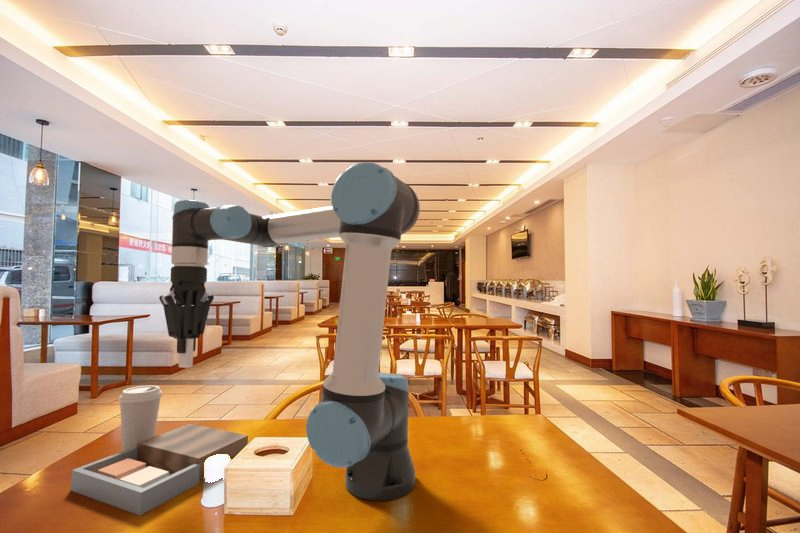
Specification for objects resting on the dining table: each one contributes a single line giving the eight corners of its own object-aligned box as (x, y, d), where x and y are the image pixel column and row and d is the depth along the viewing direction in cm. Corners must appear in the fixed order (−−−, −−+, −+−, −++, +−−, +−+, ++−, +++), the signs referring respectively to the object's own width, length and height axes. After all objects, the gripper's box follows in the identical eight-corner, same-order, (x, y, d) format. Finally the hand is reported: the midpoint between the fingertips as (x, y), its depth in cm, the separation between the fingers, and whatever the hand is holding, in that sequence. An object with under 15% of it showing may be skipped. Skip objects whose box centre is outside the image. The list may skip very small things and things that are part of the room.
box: (198, 483, 79) (199, 464, 79) (139, 515, 67) (141, 492, 68) (133, 464, 87) (134, 447, 87) (70, 490, 75) (72, 470, 76)
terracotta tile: (116, 475, 74) (114, 491, 74) (146, 463, 80) (145, 477, 80) (97, 470, 77) (96, 485, 77) (128, 458, 82) (127, 472, 82)
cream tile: (139, 485, 71) (138, 501, 71) (169, 471, 77) (168, 486, 76) (119, 479, 73) (118, 494, 73) (149, 466, 79) (148, 480, 79)
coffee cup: (136, 458, 90) (140, 395, 91) (104, 454, 92) (108, 392, 93) (168, 443, 99) (172, 385, 100) (138, 439, 101) (142, 383, 102)
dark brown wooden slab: (247, 456, 92) (248, 435, 92) (197, 482, 79) (198, 458, 79) (189, 442, 100) (190, 423, 100) (135, 464, 87) (136, 442, 87)
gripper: (201, 268, 96) (197, 361, 94) (151, 264, 84) (146, 371, 82) (223, 267, 93) (220, 363, 91) (175, 263, 81) (171, 373, 79)
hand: (185, 366), depth 87 cm, fingers closed
